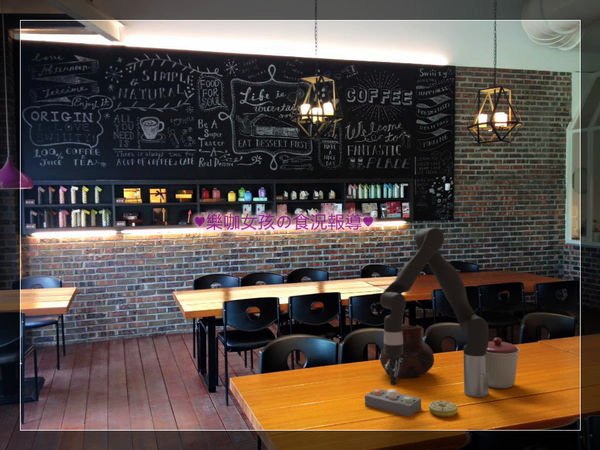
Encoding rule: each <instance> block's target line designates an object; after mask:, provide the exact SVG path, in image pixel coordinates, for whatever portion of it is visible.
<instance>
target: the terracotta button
mask: <svg viewBox="0 0 600 450" xmlns="http://www.w3.org/2000/svg"><path fill="white" fill-rule="evenodd" d="M372 391H373V395H377V396H381V395H382V390H381V388H378V389H377V388H374V389H372Z"/></svg>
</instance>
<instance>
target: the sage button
mask: <svg viewBox="0 0 600 450" xmlns="http://www.w3.org/2000/svg"><path fill="white" fill-rule="evenodd" d="M410 396H411V395H408V396H405V397H403V402H405V403H410V404H411V403H413V397H414V396H413V397H410Z"/></svg>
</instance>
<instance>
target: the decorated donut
mask: <svg viewBox="0 0 600 450" xmlns="http://www.w3.org/2000/svg"><path fill="white" fill-rule="evenodd" d="M428 409H429V411H430V413H431V414H432V415H434V416H436V417H439V418H452V417H454V416H455V415H456V414H457V412H458V405H457V404H455V403H453V402H451V401H447V400H435V401H431V402H429V405H428Z"/></svg>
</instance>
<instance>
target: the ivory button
mask: <svg viewBox="0 0 600 450" xmlns="http://www.w3.org/2000/svg"><path fill="white" fill-rule="evenodd" d="M398 393H399V392H398V390H397V389H394V388H390V389H388V390H387V395H388V398H389V399H393V400H395V399H397V398H398Z"/></svg>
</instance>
